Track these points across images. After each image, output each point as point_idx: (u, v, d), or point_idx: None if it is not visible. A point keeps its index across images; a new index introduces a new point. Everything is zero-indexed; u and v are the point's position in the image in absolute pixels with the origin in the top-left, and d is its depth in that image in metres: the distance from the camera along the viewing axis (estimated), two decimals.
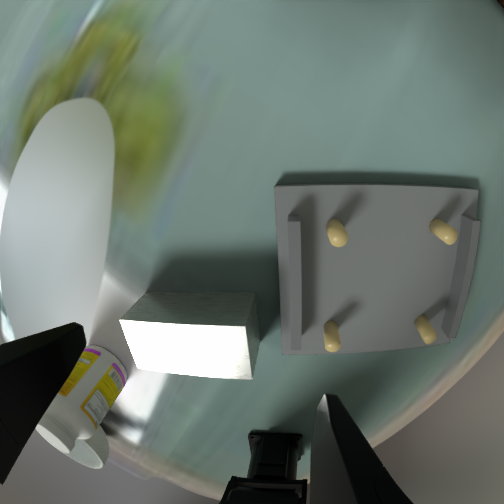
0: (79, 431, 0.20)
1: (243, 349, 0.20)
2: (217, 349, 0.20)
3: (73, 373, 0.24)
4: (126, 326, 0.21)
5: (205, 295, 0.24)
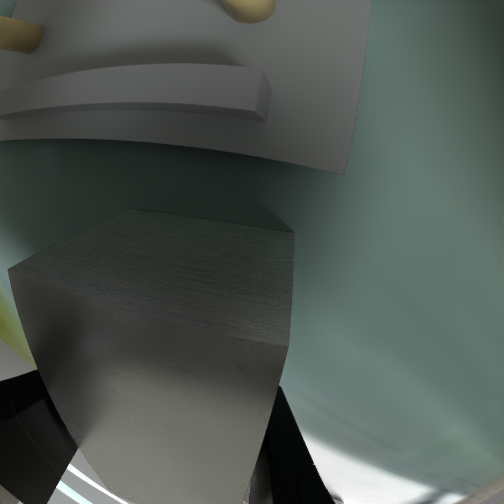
0: None
1: (82, 315, 0.04)
2: (110, 399, 0.04)
3: None
4: (120, 494, 0.07)
5: None
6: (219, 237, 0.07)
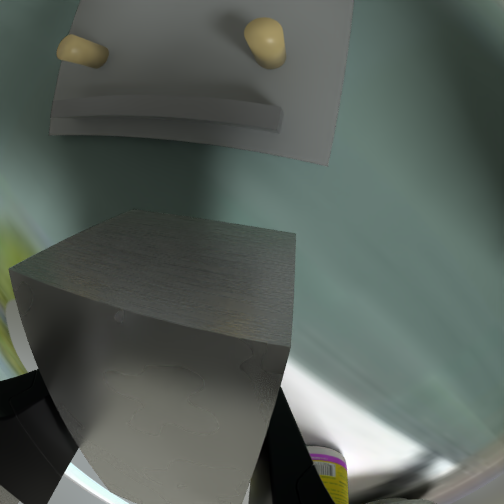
0: None
1: (83, 315, 0.04)
2: (111, 399, 0.04)
3: None
4: (120, 493, 0.07)
5: None
6: (220, 237, 0.07)
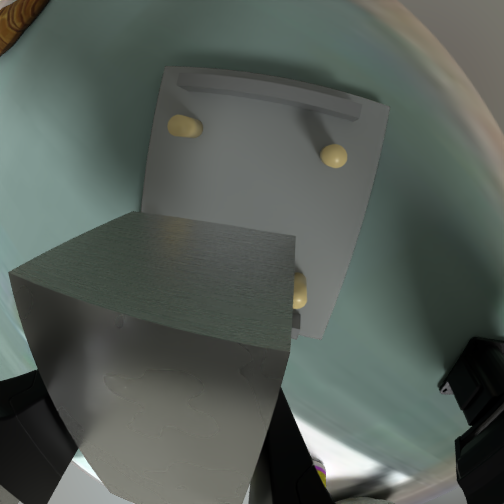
0: None
1: (83, 319, 0.04)
2: (111, 401, 0.04)
3: None
4: (120, 494, 0.07)
5: None
6: (220, 240, 0.07)
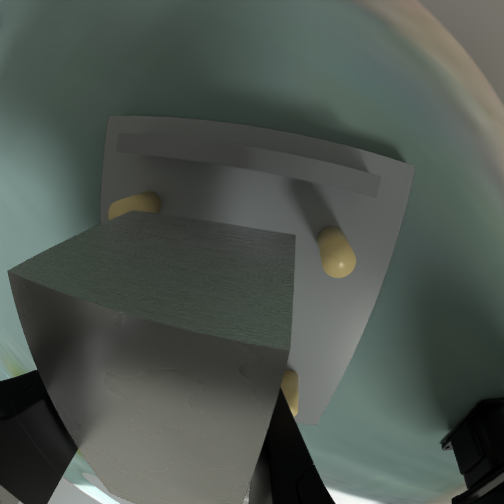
0: None
1: (82, 317, 0.04)
2: (110, 401, 0.04)
3: None
4: (119, 494, 0.07)
5: None
6: (220, 239, 0.07)
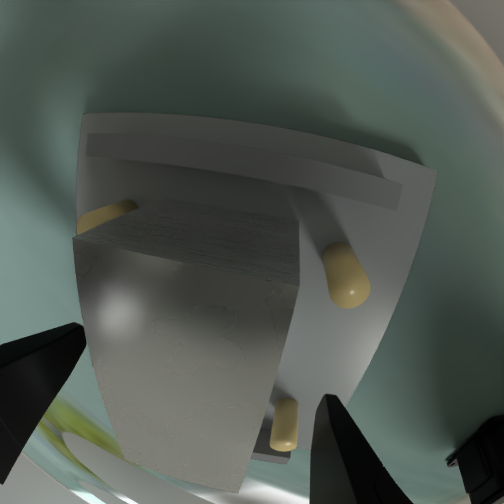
0: None
1: (145, 269, 0.06)
2: (154, 344, 0.06)
3: None
4: (135, 459, 0.09)
5: None
6: (240, 221, 0.09)
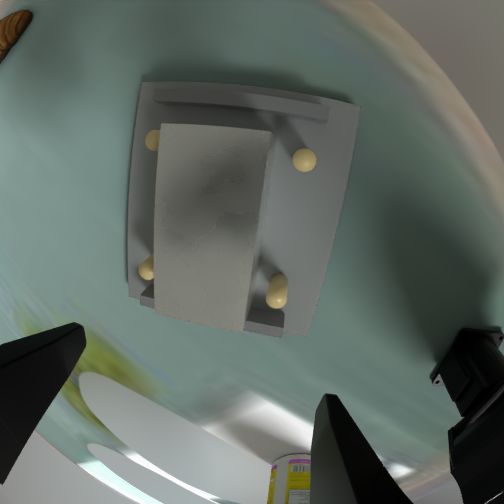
0: None
1: (200, 132, 0.12)
2: (199, 174, 0.12)
3: (268, 496, 0.23)
4: (164, 308, 0.15)
5: None
6: None
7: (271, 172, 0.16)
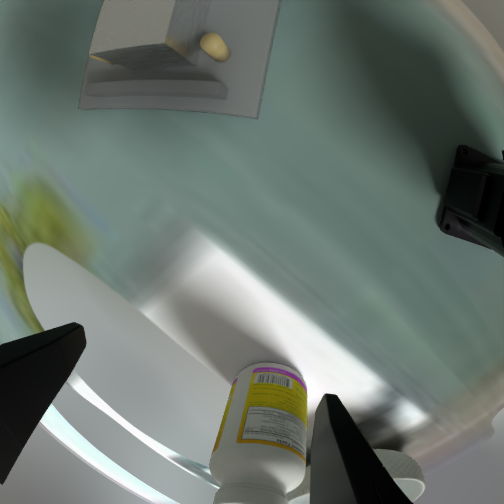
0: (264, 471, 0.14)
1: None
2: None
3: (221, 422, 0.19)
4: (97, 45, 0.11)
5: None
6: None
7: None
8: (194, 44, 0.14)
